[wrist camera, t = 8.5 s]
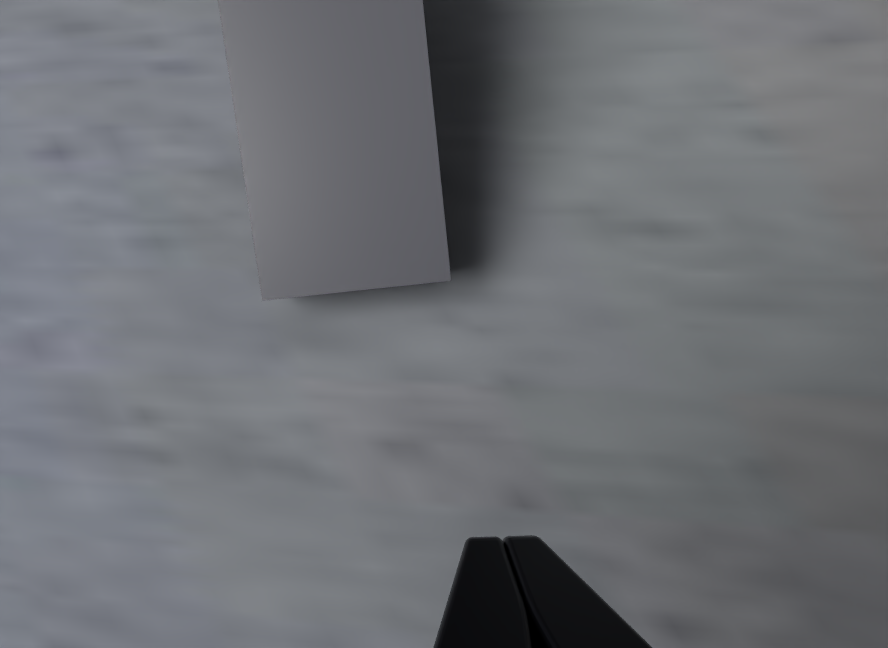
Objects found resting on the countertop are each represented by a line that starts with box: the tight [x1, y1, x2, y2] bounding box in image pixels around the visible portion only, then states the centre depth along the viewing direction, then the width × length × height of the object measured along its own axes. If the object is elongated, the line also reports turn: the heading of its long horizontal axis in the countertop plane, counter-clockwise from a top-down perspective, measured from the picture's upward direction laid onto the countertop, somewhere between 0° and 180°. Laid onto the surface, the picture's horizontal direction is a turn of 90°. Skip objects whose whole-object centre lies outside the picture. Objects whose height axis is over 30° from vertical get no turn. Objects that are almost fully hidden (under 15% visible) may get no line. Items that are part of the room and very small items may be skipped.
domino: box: [218, 0, 451, 301], centre depth 19 cm, size 2×5×10 cm
